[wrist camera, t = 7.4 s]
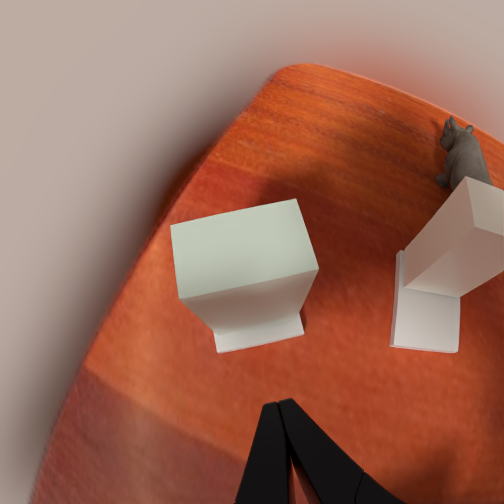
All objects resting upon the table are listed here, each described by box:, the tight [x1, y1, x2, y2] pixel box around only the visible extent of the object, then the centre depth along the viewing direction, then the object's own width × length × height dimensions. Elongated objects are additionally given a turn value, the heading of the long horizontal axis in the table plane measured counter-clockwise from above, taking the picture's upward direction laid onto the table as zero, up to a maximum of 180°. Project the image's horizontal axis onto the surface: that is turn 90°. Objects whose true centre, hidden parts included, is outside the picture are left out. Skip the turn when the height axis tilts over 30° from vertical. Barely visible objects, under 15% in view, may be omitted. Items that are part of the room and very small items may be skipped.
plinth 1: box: [213, 314, 304, 353], centre depth 20 cm, size 7×6×1 cm
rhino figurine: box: [436, 116, 493, 192], centre depth 21 cm, size 4×14×6 cm, turn 169°
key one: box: [403, 176, 504, 298], centre depth 15 cm, size 3×5×9 cm, turn 77°
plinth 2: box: [389, 250, 460, 353], centre depth 19 cm, size 7×6×1 cm
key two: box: [171, 199, 319, 336], centre depth 15 cm, size 3×5×9 cm, turn 102°
